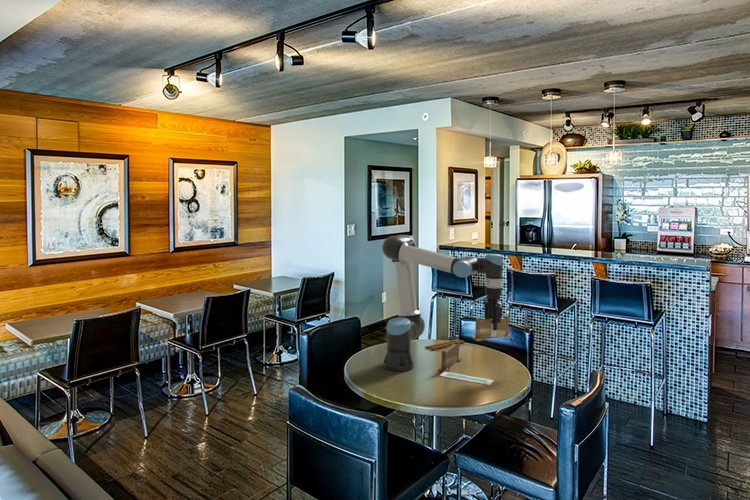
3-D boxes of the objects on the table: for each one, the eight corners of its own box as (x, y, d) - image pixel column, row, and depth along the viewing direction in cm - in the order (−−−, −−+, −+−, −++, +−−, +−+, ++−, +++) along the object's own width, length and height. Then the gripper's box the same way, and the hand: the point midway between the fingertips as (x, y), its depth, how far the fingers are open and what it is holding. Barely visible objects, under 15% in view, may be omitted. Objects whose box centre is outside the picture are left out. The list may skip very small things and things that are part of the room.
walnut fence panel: (438, 370, 241) (438, 350, 240) (453, 358, 259) (453, 340, 258) (446, 372, 239) (447, 352, 238) (461, 360, 257) (461, 341, 256)
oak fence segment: (472, 338, 235) (472, 317, 234) (505, 334, 242) (506, 314, 241) (477, 341, 231) (477, 319, 230) (511, 337, 238) (512, 316, 237)
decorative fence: (422, 348, 279) (435, 353, 271) (422, 345, 279) (435, 349, 271) (455, 341, 294) (467, 345, 285) (455, 338, 293) (467, 341, 285)
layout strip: (439, 376, 234) (439, 375, 234) (444, 372, 239) (444, 371, 239) (490, 385, 222) (490, 384, 222) (493, 381, 227) (493, 380, 227)
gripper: (477, 284, 239) (476, 332, 242) (496, 290, 225) (494, 340, 228) (491, 283, 242) (489, 331, 244) (509, 289, 228) (508, 339, 231)
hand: (491, 335), depth 236 cm, fingers closed on oak fence segment, 2 cm apart
